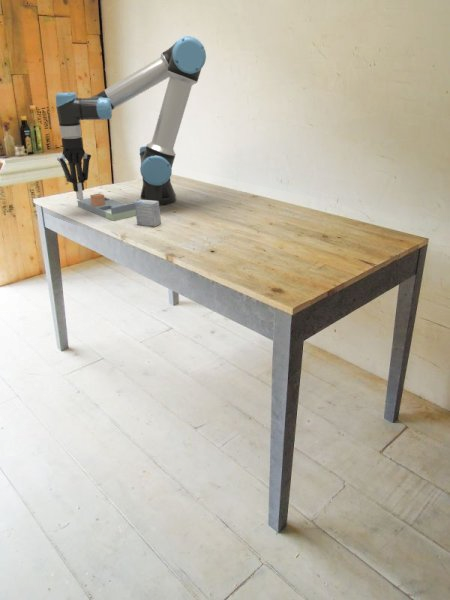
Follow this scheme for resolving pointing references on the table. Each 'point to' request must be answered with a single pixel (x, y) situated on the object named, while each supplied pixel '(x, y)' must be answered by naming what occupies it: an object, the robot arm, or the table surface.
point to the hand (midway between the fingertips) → (80, 199)
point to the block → (97, 200)
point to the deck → (110, 209)
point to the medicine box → (147, 212)
